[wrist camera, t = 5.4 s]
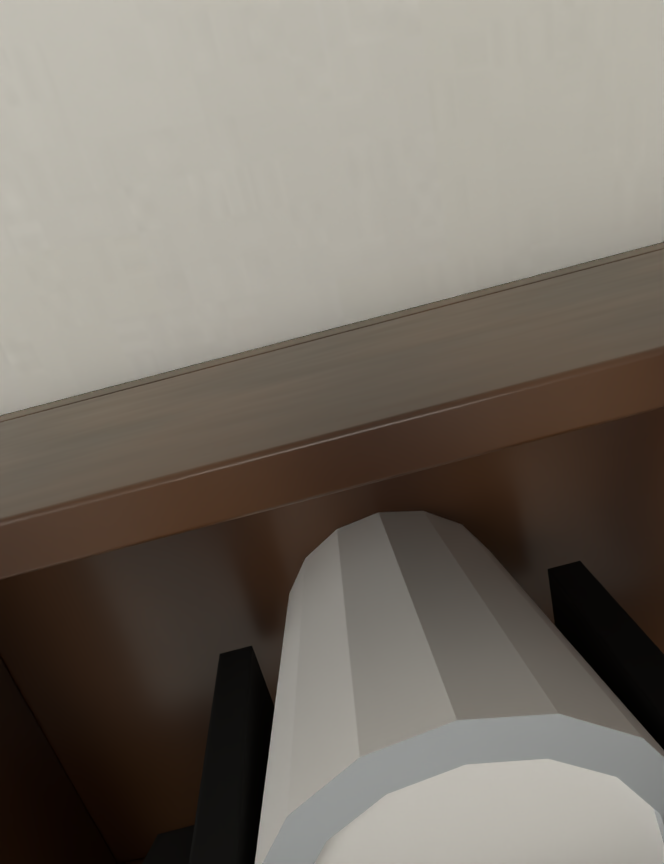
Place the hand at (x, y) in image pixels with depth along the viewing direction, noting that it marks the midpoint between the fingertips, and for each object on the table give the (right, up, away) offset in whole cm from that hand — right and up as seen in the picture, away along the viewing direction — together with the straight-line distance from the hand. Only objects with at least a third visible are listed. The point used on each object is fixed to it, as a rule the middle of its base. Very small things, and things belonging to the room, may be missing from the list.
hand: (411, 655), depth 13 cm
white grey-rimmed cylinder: (0, +1, +2) cm, 2 cm away
